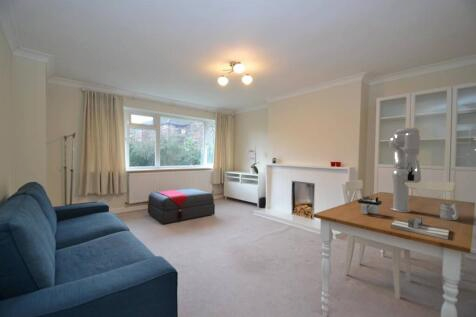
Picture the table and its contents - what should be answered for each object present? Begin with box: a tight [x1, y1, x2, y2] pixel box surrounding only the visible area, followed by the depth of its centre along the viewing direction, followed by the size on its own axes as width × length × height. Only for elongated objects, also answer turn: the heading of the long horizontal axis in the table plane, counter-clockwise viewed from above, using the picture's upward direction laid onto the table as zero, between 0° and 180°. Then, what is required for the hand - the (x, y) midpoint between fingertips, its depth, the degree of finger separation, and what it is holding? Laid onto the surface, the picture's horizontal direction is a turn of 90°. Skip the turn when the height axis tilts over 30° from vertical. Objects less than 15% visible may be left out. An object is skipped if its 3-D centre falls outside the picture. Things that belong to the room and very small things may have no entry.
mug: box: [438, 202, 459, 221], centre depth 151 cm, size 8×12×12 cm, turn 176°
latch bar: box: [414, 216, 423, 228], centre depth 132 cm, size 13×3×4 cm, turn 133°
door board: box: [390, 217, 450, 240], centre depth 132 cm, size 18×25×6 cm
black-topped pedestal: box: [357, 195, 382, 215], centre depth 165 cm, size 28×26×13 cm
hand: (410, 180), depth 145 cm, fingers closed
